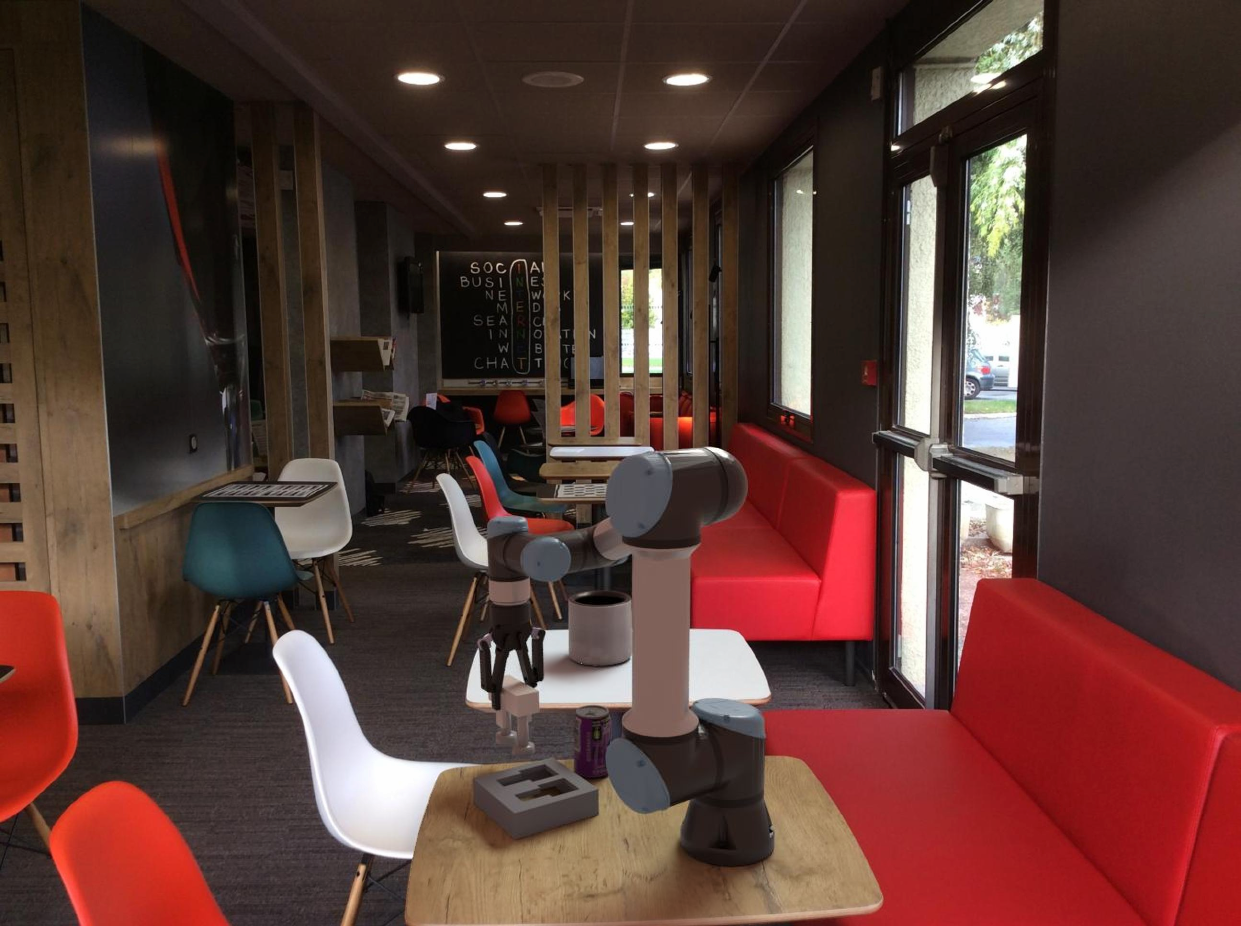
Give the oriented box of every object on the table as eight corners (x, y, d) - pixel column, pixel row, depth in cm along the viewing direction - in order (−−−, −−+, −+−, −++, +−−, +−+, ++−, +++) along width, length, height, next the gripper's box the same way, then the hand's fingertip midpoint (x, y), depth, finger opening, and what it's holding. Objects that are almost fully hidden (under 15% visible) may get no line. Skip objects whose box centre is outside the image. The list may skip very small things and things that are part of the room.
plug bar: (540, 754, 191) (538, 691, 190) (519, 760, 188) (516, 695, 187) (511, 734, 201) (509, 674, 200) (490, 739, 198) (487, 678, 197)
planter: (566, 649, 269) (566, 590, 267) (628, 646, 271) (628, 588, 269) (570, 669, 253) (569, 607, 251) (636, 666, 255) (635, 604, 253)
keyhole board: (553, 780, 191) (552, 757, 191) (598, 814, 178) (598, 789, 177) (473, 802, 183) (472, 778, 182) (515, 839, 169) (514, 813, 169)
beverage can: (607, 781, 191) (606, 719, 189) (569, 778, 192) (569, 716, 190) (615, 765, 198) (614, 705, 196) (579, 762, 199) (578, 702, 197)
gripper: (542, 589, 199) (545, 707, 202) (457, 603, 190) (462, 726, 193) (561, 597, 193) (565, 718, 196) (474, 611, 184) (479, 739, 186)
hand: (514, 722), depth 194 cm, fingers closed on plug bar, 4 cm apart
